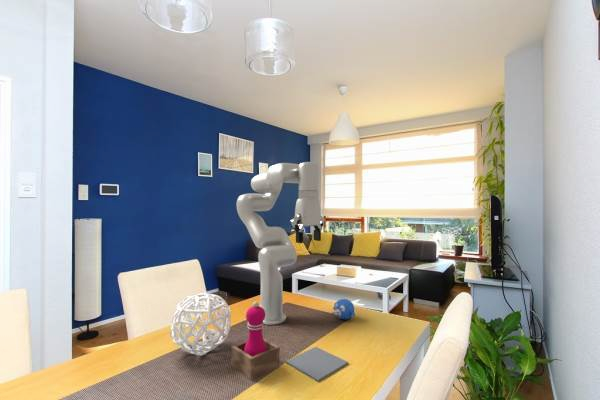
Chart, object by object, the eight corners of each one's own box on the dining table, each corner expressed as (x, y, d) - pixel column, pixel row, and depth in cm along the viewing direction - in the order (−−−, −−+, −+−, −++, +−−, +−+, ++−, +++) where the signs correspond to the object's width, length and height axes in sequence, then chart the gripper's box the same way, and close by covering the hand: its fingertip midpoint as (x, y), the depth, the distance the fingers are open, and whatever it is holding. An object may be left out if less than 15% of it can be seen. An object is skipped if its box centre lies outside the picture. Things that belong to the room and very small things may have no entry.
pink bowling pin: (262, 374, 90) (263, 306, 91) (239, 371, 92) (240, 304, 92) (270, 361, 98) (270, 298, 98) (248, 359, 99) (248, 297, 99)
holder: (231, 365, 95) (231, 346, 95) (259, 354, 102) (259, 336, 102) (251, 380, 87) (251, 359, 87) (279, 366, 95) (279, 347, 95)
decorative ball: (212, 371, 92) (213, 307, 92) (155, 363, 96) (156, 302, 96) (241, 341, 111) (241, 289, 111) (192, 335, 116) (192, 285, 116)
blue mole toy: (322, 319, 133) (322, 299, 133) (339, 312, 141) (339, 294, 141) (343, 327, 124) (343, 307, 124) (361, 320, 132) (361, 300, 132)
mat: (285, 362, 97) (285, 361, 97) (315, 348, 106) (315, 346, 106) (317, 382, 87) (317, 379, 87) (348, 363, 96) (348, 362, 96)
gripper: (316, 196, 122) (316, 238, 122) (284, 195, 110) (284, 243, 110) (331, 195, 117) (331, 240, 117) (299, 195, 105) (299, 245, 105)
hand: (308, 241), depth 114 cm, fingers open, 9 cm apart
